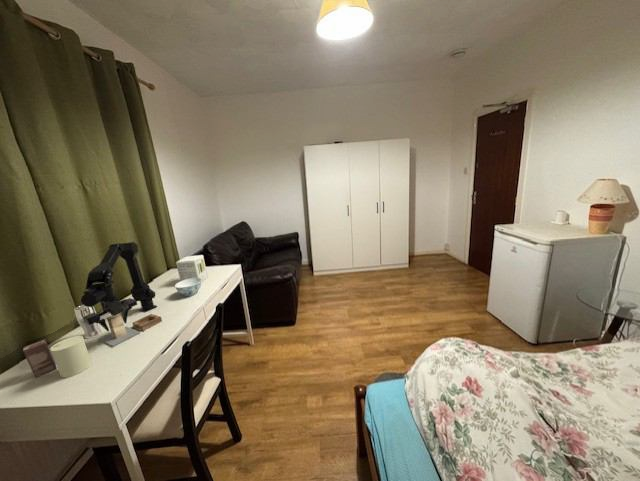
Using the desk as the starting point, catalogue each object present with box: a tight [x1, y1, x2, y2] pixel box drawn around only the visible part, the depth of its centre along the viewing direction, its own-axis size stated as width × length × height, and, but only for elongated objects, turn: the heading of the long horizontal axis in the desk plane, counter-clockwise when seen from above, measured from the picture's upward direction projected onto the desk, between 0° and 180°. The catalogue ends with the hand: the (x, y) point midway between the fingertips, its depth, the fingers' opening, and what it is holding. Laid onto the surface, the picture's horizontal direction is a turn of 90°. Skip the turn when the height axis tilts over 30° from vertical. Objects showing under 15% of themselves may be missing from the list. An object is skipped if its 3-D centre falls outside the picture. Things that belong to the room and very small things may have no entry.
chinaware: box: [174, 278, 202, 297], centre depth 159 cm, size 15×15×8 cm
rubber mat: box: [98, 325, 141, 348], centre depth 119 cm, size 14×11×1 cm
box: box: [22, 339, 58, 378], centre depth 98 cm, size 6×4×12 cm
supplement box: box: [175, 254, 209, 284], centre depth 179 cm, size 13×13×18 cm
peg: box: [106, 313, 127, 339], centre depth 117 cm, size 4×4×10 cm
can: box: [49, 335, 93, 379], centre depth 97 cm, size 9×9×12 cm
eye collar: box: [132, 313, 163, 332], centre depth 127 cm, size 9×9×2 cm
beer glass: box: [73, 304, 102, 340], centre depth 121 cm, size 7×7×15 cm
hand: (117, 327), depth 118 cm, fingers open, 7 cm apart
